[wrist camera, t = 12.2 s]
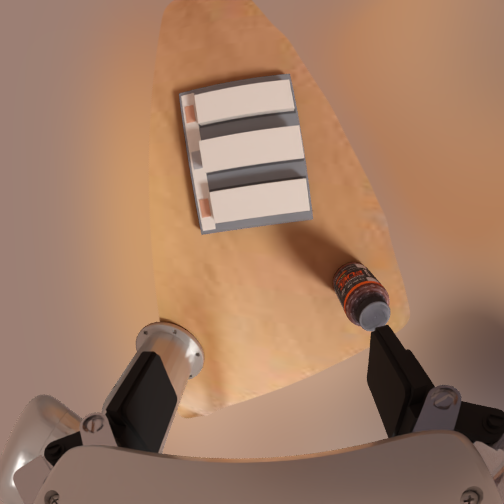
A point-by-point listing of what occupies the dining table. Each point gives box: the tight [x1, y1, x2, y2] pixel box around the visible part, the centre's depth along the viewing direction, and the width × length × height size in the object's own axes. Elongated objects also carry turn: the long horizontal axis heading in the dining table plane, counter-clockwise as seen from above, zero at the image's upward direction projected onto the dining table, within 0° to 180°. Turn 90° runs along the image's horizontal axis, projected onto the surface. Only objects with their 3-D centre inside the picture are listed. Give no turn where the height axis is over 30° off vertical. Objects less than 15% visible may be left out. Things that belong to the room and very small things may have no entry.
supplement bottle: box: [333, 262, 390, 331], centre depth 34 cm, size 6×6×11 cm
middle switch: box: [199, 125, 304, 173], centre depth 31 cm, size 4×12×2 cm, turn 99°
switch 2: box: [209, 178, 310, 224], centre depth 34 cm, size 4×12×2 cm, turn 99°
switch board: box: [179, 74, 313, 235], centre depth 34 cm, size 20×15×2 cm
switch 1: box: [194, 79, 295, 126], centre depth 31 cm, size 4×12×2 cm, turn 99°
